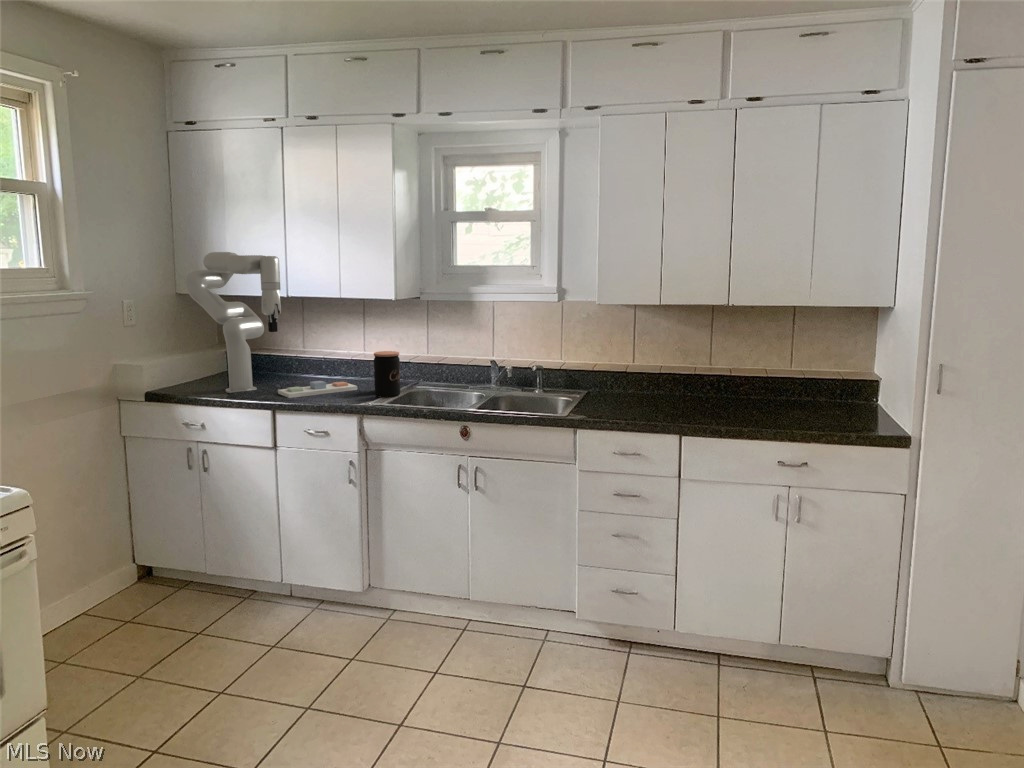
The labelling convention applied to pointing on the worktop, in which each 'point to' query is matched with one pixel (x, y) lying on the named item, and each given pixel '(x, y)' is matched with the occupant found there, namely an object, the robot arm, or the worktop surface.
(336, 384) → the terracotta button
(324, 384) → the slate button
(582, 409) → the worktop surface
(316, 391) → the button panel
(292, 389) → the sage button
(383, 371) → the coffee jar
